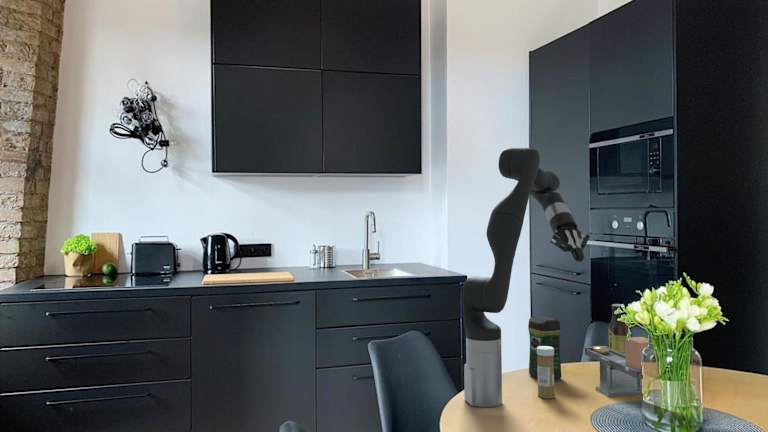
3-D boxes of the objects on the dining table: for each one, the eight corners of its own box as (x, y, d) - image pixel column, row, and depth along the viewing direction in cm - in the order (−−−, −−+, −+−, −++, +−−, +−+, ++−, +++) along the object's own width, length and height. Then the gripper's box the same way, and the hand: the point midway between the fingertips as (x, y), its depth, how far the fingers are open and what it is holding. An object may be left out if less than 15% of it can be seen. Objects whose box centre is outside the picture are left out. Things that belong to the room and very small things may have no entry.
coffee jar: (566, 380, 169) (565, 318, 169) (544, 383, 166) (543, 320, 166) (545, 372, 178) (544, 313, 178) (524, 374, 175) (523, 315, 175)
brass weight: (598, 355, 164) (598, 349, 164) (590, 351, 168) (590, 346, 168) (612, 354, 165) (612, 348, 165) (603, 350, 169) (603, 345, 169)
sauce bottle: (611, 361, 189) (611, 302, 189) (631, 364, 186) (630, 304, 186) (606, 365, 184) (605, 305, 184) (627, 368, 180) (626, 306, 180)
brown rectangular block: (639, 373, 144) (639, 342, 144) (625, 367, 150) (625, 337, 150) (657, 372, 145) (656, 341, 145) (642, 366, 151) (642, 336, 151)
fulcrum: (607, 396, 152) (607, 361, 152) (595, 390, 158) (595, 356, 158) (647, 394, 155) (647, 359, 155) (634, 387, 160) (634, 354, 160)
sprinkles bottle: (558, 397, 153) (557, 347, 153) (546, 400, 150) (546, 349, 151) (545, 392, 157) (544, 344, 157) (533, 395, 154) (533, 346, 154)
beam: (636, 380, 143) (636, 370, 143) (582, 355, 169) (582, 347, 169) (665, 378, 144) (665, 368, 144) (608, 353, 170) (608, 345, 170)
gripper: (544, 211, 178) (564, 252, 166) (583, 210, 180) (605, 251, 168) (537, 227, 183) (556, 268, 171) (575, 227, 185) (596, 267, 173)
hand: (580, 260), depth 170 cm, fingers closed
